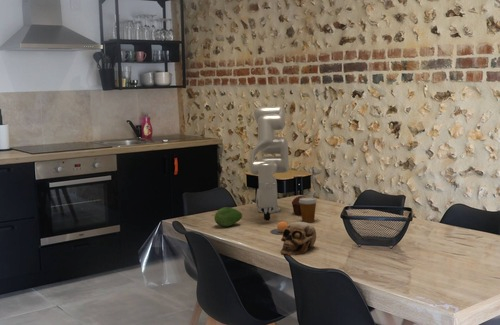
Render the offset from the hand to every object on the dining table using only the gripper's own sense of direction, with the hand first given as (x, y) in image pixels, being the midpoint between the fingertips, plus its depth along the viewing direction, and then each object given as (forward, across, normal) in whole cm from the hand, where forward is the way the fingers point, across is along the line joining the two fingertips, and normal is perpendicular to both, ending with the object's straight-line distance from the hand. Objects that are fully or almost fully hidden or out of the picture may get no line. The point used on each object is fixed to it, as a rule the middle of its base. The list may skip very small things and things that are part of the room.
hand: (267, 220), depth 333 cm
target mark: (+2, 0, +21) cm, 21 cm away
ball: (-1, 0, +23) cm, 23 cm away
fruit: (+2, +20, -4) cm, 20 cm away
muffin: (+2, -25, -11) cm, 27 cm away
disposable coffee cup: (+2, -21, +6) cm, 22 cm away
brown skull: (+2, +6, +55) cm, 56 cm away
